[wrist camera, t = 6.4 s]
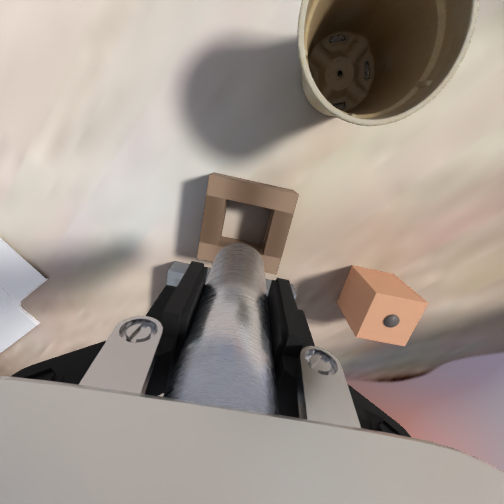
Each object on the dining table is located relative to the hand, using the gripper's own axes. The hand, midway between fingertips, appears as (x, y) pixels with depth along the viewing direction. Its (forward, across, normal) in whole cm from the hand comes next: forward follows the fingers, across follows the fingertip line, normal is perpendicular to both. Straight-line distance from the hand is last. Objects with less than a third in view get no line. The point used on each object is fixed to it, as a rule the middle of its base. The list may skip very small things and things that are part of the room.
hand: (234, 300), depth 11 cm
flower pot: (+16, -5, -14) cm, 22 cm away
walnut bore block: (+16, 0, 0) cm, 16 cm away
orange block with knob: (+16, -15, +5) cm, 22 cm away
